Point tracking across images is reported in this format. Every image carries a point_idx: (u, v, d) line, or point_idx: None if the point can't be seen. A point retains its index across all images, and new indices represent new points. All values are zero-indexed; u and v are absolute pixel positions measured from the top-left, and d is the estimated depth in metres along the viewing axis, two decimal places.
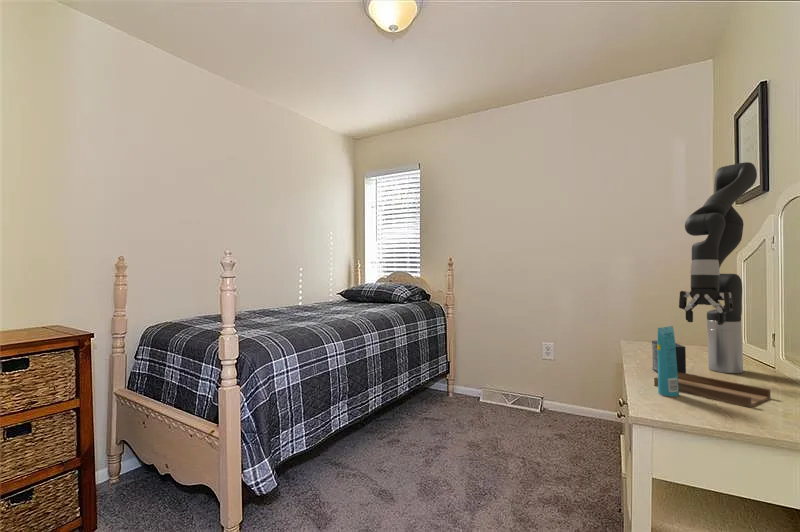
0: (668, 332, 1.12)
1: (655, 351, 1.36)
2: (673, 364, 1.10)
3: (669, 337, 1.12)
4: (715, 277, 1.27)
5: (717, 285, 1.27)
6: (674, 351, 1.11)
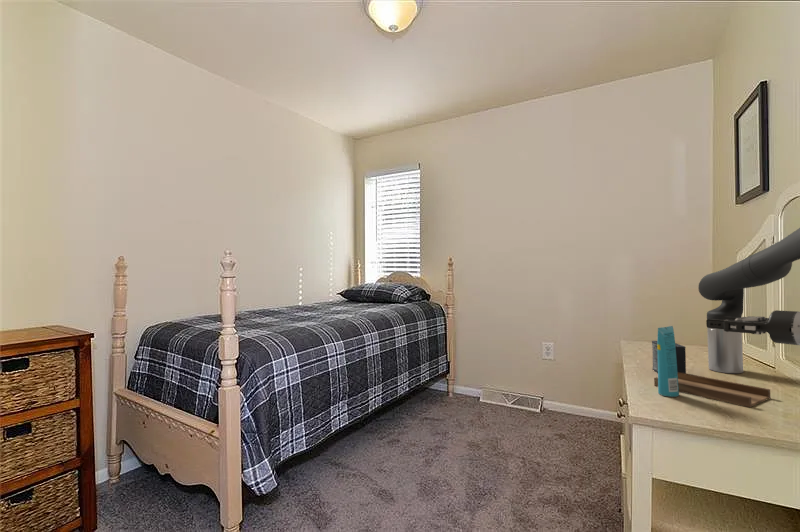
0: (668, 332, 1.12)
1: (655, 351, 1.36)
2: (673, 364, 1.10)
3: (669, 337, 1.12)
4: None
5: None
6: (674, 351, 1.11)
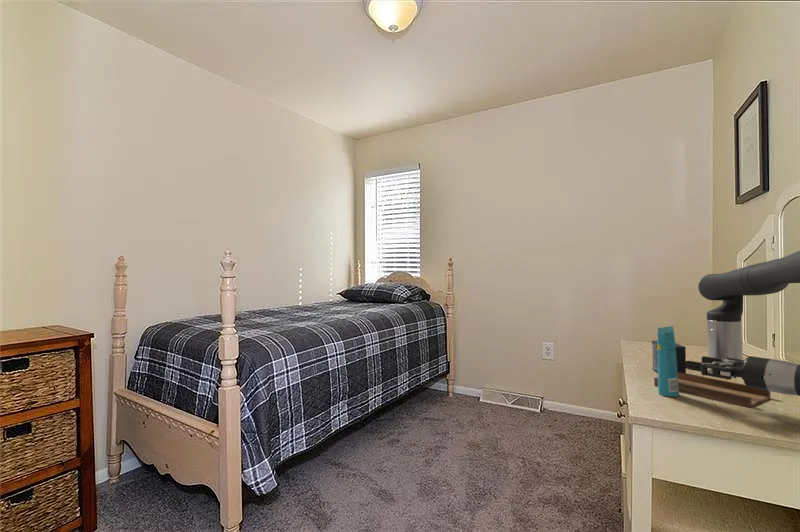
0: (668, 332, 1.12)
1: (655, 351, 1.36)
2: (673, 364, 1.10)
3: (669, 337, 1.12)
4: None
5: None
6: (674, 351, 1.11)
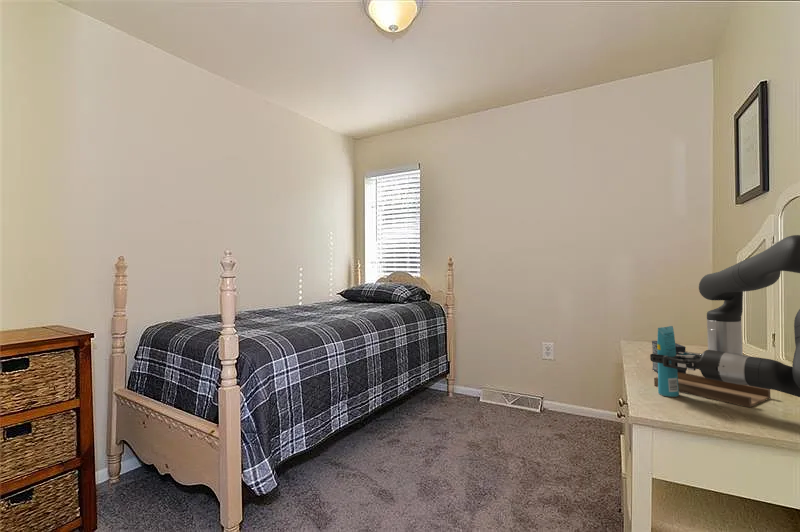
0: (668, 332, 1.12)
1: (655, 351, 1.36)
2: None
3: (669, 337, 1.12)
4: None
5: None
6: (674, 351, 1.11)
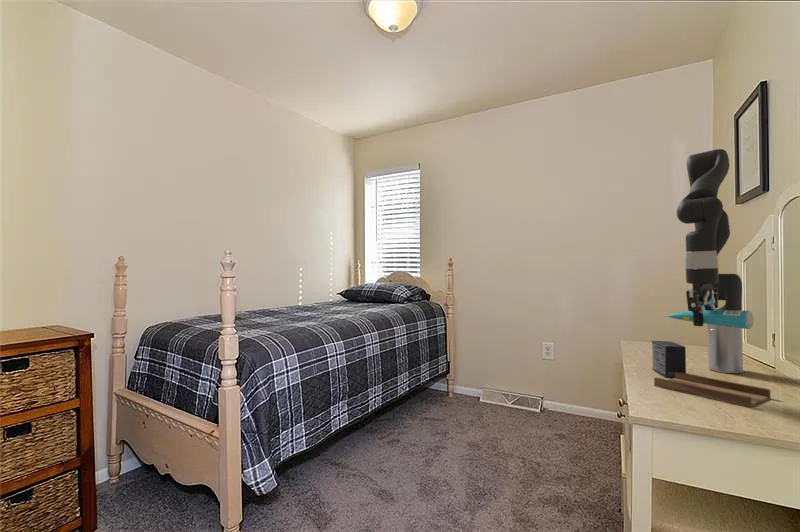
0: (677, 313, 1.21)
1: (655, 351, 1.36)
2: None
3: (682, 312, 1.20)
4: None
5: None
6: None
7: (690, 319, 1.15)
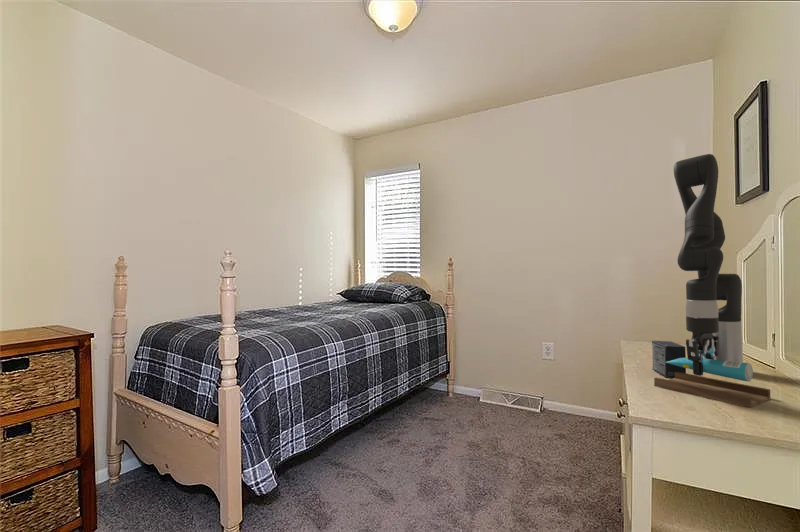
0: (677, 359, 1.21)
1: (655, 351, 1.36)
2: (709, 359, 1.13)
3: (682, 359, 1.20)
4: None
5: None
6: None
7: (690, 367, 1.15)
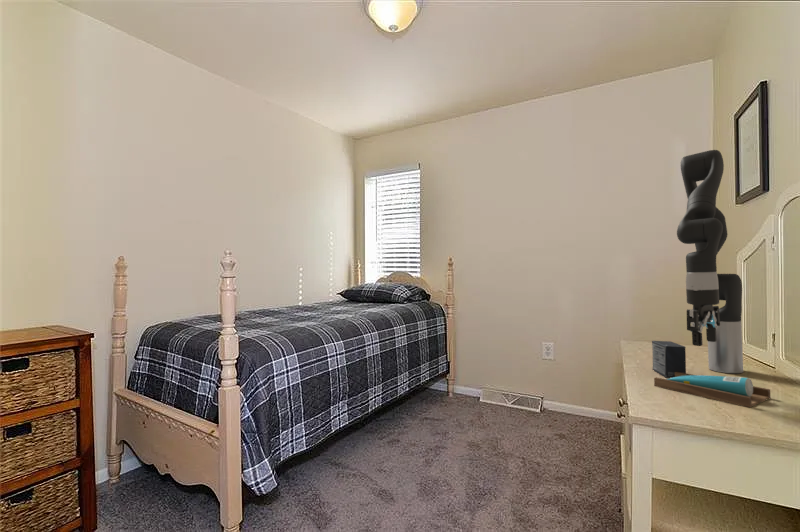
0: None
1: (655, 351, 1.36)
2: (709, 376, 1.14)
3: (682, 376, 1.20)
4: None
5: None
6: (698, 375, 1.17)
7: (690, 383, 1.15)
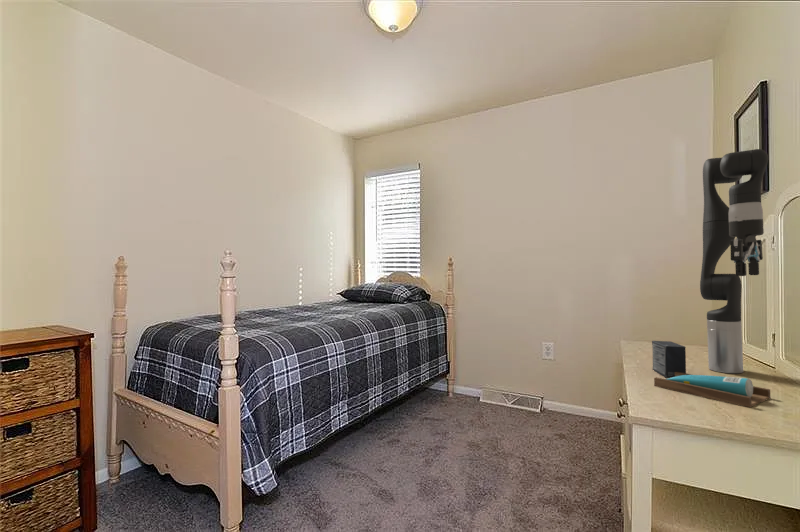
0: (677, 376, 1.21)
1: (655, 351, 1.36)
2: (709, 376, 1.14)
3: (682, 376, 1.20)
4: None
5: None
6: (698, 375, 1.17)
7: None
